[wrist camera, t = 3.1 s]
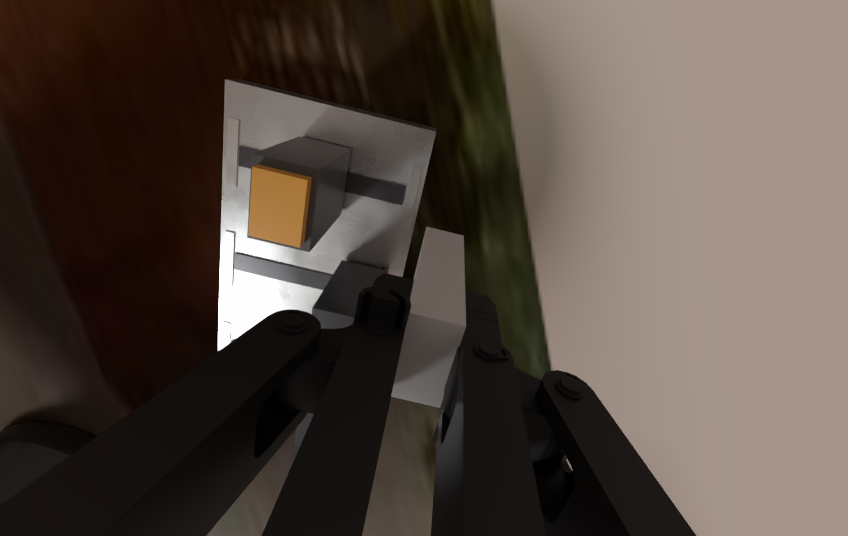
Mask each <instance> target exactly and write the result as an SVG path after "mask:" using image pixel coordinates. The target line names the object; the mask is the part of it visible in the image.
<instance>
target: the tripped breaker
mask: <svg viewBox="0 0 848 536" xmlns="http://www.w3.org/2000/svg"><path fill="white" fill-rule="evenodd" d="M350 153H351V149H349V148H345V147H341V146H337V145H333V144H329V143H325V142H321V141H317V140H313V139H309V138H305V137H301V136H299V137H296V138H293V139H291V140H288V141H285V142H282V143H280V144H277V145H274V146H271V147H269V148H266V149H263V150H260V151H258V152H255V153H252V161H251V179H250V197H249V215H248V232H247V238H251V239H255V240H259V241H264V242H268V243H272V244H276V245H281V246H285V247H289V248H293V249H298V250H302V251H306V252H310V251H311V250H312V249H313V247H314V246H315V245H316V244H317V243H318V241H319V240H320V239H321V238H322V237H323V235H324V234H325V233H326V232H327V231H328V229H329V228H330V227H331V226H332V225H333V223H334V222H335V221H336V220H337V219H338V218H339V216H340V215H341V212H342V205H343V199H344V192H345V186H346V179H347V173H348V166H349V159H350Z"/></svg>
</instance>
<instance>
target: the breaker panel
mask: <svg viewBox="0 0 848 536" xmlns="http://www.w3.org/2000/svg"><path fill="white" fill-rule="evenodd" d="M436 131H437V128H435V127H431V126H427V125H423V124H419V123H415V122H411V121H407V120H403V119H399V118H395V117H391V116H387V115H383V114H379V113H375V112H371V111H367V110H363V109H359V108H355V107H351V106H347V105H343V104H338V103H334V102H330V101H326V100H322V99H318V98H314V97H310V96H306V95H302V94H298V93H294V92H290V91H286V90H282V89H278V88H274V87H270V86H266V85H262V84H258V83H254V82H250V81H246V80H242V79H225V97H224V134H223V171H222V208H221V244H220V281H219V318H218V351H219V350H221V349H222V348H223V347H225V346H226V345H228V344H229V343H230V342H232V341H233V340H235V339H236V338H238V337H239V336H240V335H242V334H243V333H245V332H246V331H247V330H249V329H250V328H252V327H253V326H255V325H256V324H257V323H259V322H260V321H262V320H263V319H264V318H266V317H267V316H269V315H271V314H273V313H275V312H277V311H282V310H300V311H304V312H308V313H310V314H312V315H313V316H315V317H316V318H317V319H318V320H319V321H320V323H321V328H324V329H337V328H344V327H348V326H350V325H352V324H353V322H354V317H355V312H356V306H357V301H358V296H359V293H360V292H361V291H362V290H363V289H365V288H368V287H371V286H373V284H374V282H375V279H376V278H377V277H379V276H381V275H382V274H384V273H387V274H391V275H395V276H400V277H403V273H404V269H405V265H406V260H407V256H408V252H409V247H410V243H411V239H412V234H413V230H414V226H415V222H416V217H417V213H418V209H419V204H420V200H421V196H422V191H423V187H424V183H425V179H426V174H427V170H428V166H429V161H430V157H431V153H432V148H433V144H434V140H435V136H436ZM299 136H301V137H305V138H309V139H313V140H317V141H321V142H325V143H329V144H333V145H337V146H341V147H345V148H349V149H351V153H350V159H349V166H348V173H347V179H346V186H345V192H344V199H343V205H342V212H341V215H340V216H339V218H338V219H337V220H336V221H335V222H334V223H333V225H332V226H331V227H330V228H329V229H328V231H327V232H326V233H325V234H324V235H323V237H322V238H321V239H320V240H319V241H318V243H317V244H316V245H315V246H314V247H313V249H312V250H311V251H310V252H306V251H302V250H298V249H293V248H289V247H285V246H281V245H276V244H272V243H268V242H264V241H259V240H255V239H251V238H247V232H248V215H249V197H250V179H251V161H252V153H255V152H258V151H260V150H263V149H266V148H269V147H271V146H274V145H277V144H280V143H282V142H285V141H288V140H291V139H293V138H296V137H299ZM314 413H315V410H309V411H308V413H307V415H306V417H305V418H304V419H303V421H302V422H301V423H300V424H299V425H298V427H297V428H296V433H295V440H294V447H293V455H292V459H295V457H296V455H297V452H298V450H299V448H300V445H301V443H302V441H303V438H304V436H305V434H306V431H307V429H308V427H309V424H310V422H311V420H312V417H313V415H314Z"/></svg>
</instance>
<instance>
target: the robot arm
mask: <svg viewBox="0 0 848 536" xmlns="http://www.w3.org/2000/svg"><path fill="white" fill-rule="evenodd" d="M443 396H444V403H443V409H442V412H441V416H440V419H439V422H438V425H437V428H436V431H435V434H434V437H433V440H432V443H436V441H437V451H436V467H435V482H434V497H433V513H432V528H431V536H696V535H695V533H694V532H693V530H692V529H691V528H690V526H689V525H688V523H687V522H686V521H685V519H684V518H683V516H682V515H681V514H680V512H679V511H678V509H677V508H676V507H675V505H674V504H673V502H672V501H671V499H670V498H669V497H668V495H667V494H666V493H665V491H664V490H663V488H662V487H661V485H660V484H659V483H658V481H657V480H656V478H655V477H654V476H653V474H652V473H651V471H650V470H649V469H648V467H647V466H646V464H645V463H644V462H643V460H642V459H641V457H640V456H639V455H638V453H637V452H636V450H635V449H634V448H633V446H632V445H631V443H630V442H629V440H628V439H627V438H626V436H625V435H624V433H623V432H622V431H621V429H620V428H619V426H618V425H617V424H616V422H615V421H614V419H613V418H612V417H611V415H610V414H609V412H608V411H607V410H606V408H605V407H604V405H603V404H602V403H601V401H600V400H599V398H598V397H597V395H596V394H595V393H594V391H593V390H592V389H591V388H590V387H589V386H588V385H587V384H586V383H585V382H584V381H582V380H581V379H579V378H578V377H577V376H574V375H572V374H570V373H567V372H562V371H558V370H556V371H549V372H547V373H545V374H544V376H543V378H542V380H539V379H537V378H535V377H533V376H531V375H528V374H526V373H524V372H523V371H521V370H519V369H518V368H516V367H515V366H514V361H513V358H512V355H511V353H510V352H509V351H508V350H507V349H506V348H505V347H504V346H503V345H502V342H501V336H500V330H499V324H498V317H497V311H496V306H495V304H494V303H493V302H492V301H491V299H490V298H489V297H487V296H483V295H479V294H475V293H471V292H466V291H465V265H464V236H463V235H459V234H455V233H451V232H447V231H443V230H439V229H435V228H431V227H427V226H426V230H425V234H424V238H423V242H422V247H421V251H420V255H419V259H418V263H417V267H416V271H415V275H414V279H413V280H412V279H408V278H404V277H400V276H395V275H391V274H387V273H384V274H382V275H381V276H379V277H377V278H376V279H375V282H374V284H373V286H371V287H368V288H365V289H363V290H362V291H361V292H360V293H359V296H358V301H357V306H356V312H355V317H354V322H353V324H352V325H350V326H348V327H344V328H337V329H324V328H321V323H320V321H319V320H318V319H317V318H316V317H315V316H313V315H312V314H310V313H308V312H304V311H300V310H282V311H277V312H275V313H273V314H271V315H269V316H267V317H266V318H264V319H263V320H262V321H260V322H259V323H257V324H256V325H255V326H253V327H252V328H250V329H249V330H247V331H246V332H245V333H243V334H242V335H240V336H239V337H238V338H236V339H235V340H233V341H232V342H230V343H229V344H228V345H226V346H225V347H223V348H222V349H221V350H219V351H218V352H216V353H215V354H213V355H212V356H211V357H209V358H208V359H206V360H205V361H204V362H202V363H201V364H199V365H198V366H196V367H195V368H194V369H192V370H191V371H189V372H188V373H187V374H185V375H184V376H182V377H181V378H179V379H178V380H177V381H175V382H174V383H172V384H171V385H170V386H168V387H167V388H165V389H164V390H162V391H161V392H160V393H158V394H157V395H155V396H154V397H153V398H151V399H150V400H148V401H147V402H145V403H144V404H143V405H141V406H140V407H138V408H137V409H136V410H134V411H133V412H131V413H130V414H128V415H127V416H126V417H124V418H123V419H121V420H120V421H119V422H117V423H116V424H114V425H113V426H111V427H110V428H109V429H107V430H106V431H104V432H103V433H102V434H100V435H99V436H97V437H96V438H95V437H93V436H91V435H88V434H86V433H84V432H81V431H79V430H76V429H73V428H70V427H67V426H63V425H59V424H53V423H46V422H26V423H20V424H16V425H12V426H10V427H8V428H6V429H4V430H2V431H1V432H0V536H206V535H207V534H208V533H209V532H210V530H211V529H212V528H213V527H214V526H215V524H216V523H217V522H218V521H219V520H220V518H221V517H222V516H223V515H224V514H225V513H226V511H227V510H228V509H229V508H230V507H231V505H232V504H233V503H234V502H235V501H236V499H237V498H238V497H239V496H240V495H241V493H242V492H243V491H244V490H245V489H246V487H247V486H248V485H249V484H250V483H251V481H252V480H253V479H254V478H255V477H256V476H257V474H258V473H259V472H260V471H261V470H262V468H263V467H264V466H265V465H266V464H267V462H268V461H269V460H270V459H271V458H272V456H273V455H274V454H275V453H276V452H277V450H278V449H279V448H280V447H281V446H282V444H283V443H284V442H285V441H286V440H287V439H288V437H289V436H290V435H291V434H292V433H293V431H294V430H295V429H296V428H297V427H298V425H299V424H300V423H301V422H302V421H303V419H304V418H305V417H306V415H307V413H308V411H309V410H315V413H314V415H313V417H312V420H311V422H310V424H309V427H308V429H307V431H306V434H305V436H304V438H303V441H302V443H301V445H300V448H299V450H298V452H297V455H296V457H295V459H294V462H293V464H292V466H291V469H290V471H289V473H288V476H287V478H286V480H285V483H284V485H283V487H282V490H281V492H280V494H279V497H278V499H277V501H276V504H275V506H274V508H273V511H272V513H271V515H270V518H269V520H268V522H267V525H266V527H265V529H264V532H263V534H262V536H362V532H363V527H364V523H365V518H366V513H367V508H368V504H369V499H370V494H371V489H372V485H373V480H374V475H375V470H376V466H377V461H378V456H379V451H380V447H381V442H382V437H383V432H384V428H385V423H386V418H387V413H388V409H389V404H390V399H391V397H395V398H400V399H404V400H408V401H412V402H417V403H421V404H425V405H429V406H434V407H438V408H440V406H441V402H442V399H443ZM566 459H568V461H569V463H570V464H571V467H572V469H573V471H572V470H571V469H570V467H569V465H568V463H567V461H566Z"/></svg>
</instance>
